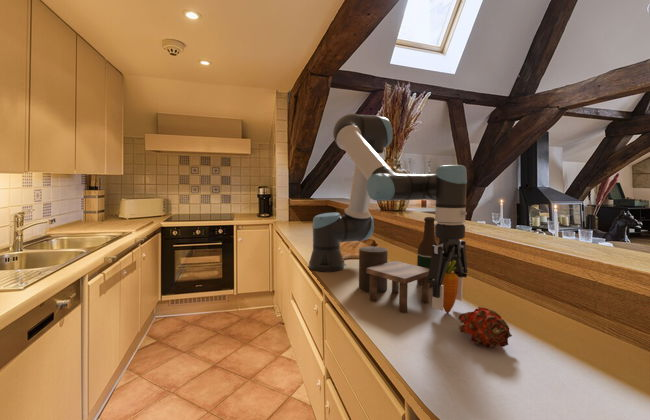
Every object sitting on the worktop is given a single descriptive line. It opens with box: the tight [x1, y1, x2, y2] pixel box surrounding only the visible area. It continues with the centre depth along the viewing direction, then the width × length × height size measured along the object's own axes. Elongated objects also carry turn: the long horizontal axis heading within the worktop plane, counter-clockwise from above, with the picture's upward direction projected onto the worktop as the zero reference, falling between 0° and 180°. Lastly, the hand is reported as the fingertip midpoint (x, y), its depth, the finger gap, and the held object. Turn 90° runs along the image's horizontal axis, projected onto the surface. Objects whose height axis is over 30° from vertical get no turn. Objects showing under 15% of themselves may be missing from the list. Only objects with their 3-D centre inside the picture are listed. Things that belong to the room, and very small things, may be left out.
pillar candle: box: [358, 245, 389, 294], centre depth 104 cm, size 10×10×15 cm
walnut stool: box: [366, 260, 430, 314], centre depth 92 cm, size 14×14×10 cm
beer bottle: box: [416, 216, 439, 289], centre depth 107 cm, size 8×8×24 cm
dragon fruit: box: [458, 306, 513, 349], centre depth 67 cm, size 8×8×12 cm
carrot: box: [442, 260, 458, 314], centre depth 83 cm, size 5×5×15 cm
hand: (447, 303), depth 83 cm, fingers open, 10 cm apart
